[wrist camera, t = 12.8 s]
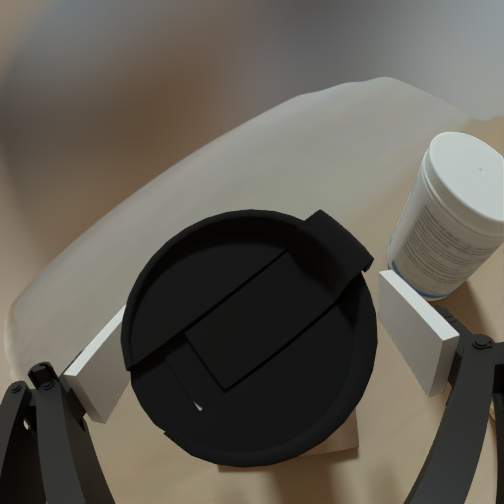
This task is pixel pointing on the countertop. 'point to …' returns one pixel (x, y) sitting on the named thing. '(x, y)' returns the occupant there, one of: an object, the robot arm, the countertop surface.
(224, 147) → the countertop surface
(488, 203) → the supplement tub
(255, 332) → the travel mug
